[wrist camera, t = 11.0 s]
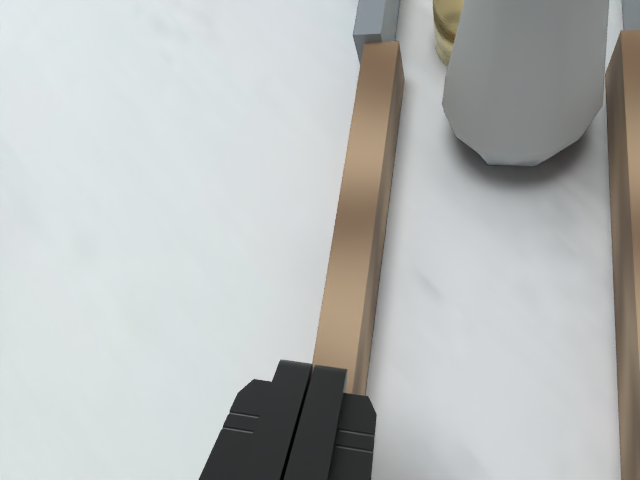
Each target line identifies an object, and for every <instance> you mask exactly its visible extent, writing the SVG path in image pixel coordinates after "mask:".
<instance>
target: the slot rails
mask: <svg viewBox="0 0 640 480" xmlns="http://www.w3.org/2000/svg"><path fill="white" fill-rule="evenodd" d="M605 78H606V103H607V128H608V153H609V178H610V203H611V228H612V254H613V279H614V304H615V329H616V354H617V379H618V404H619V430H620V455H621V480H640V30H624V31H621V32H620V35H619V38H618V40H617V43H616V46H615V49H614V51H613V54H612V57H611V60H610V62H609V65H608V68H607V71H606V73H605ZM403 86H404V73H403V66H402V60H401V53H400V46H399V41H386V42H373V43H364V47H363V53H362V59H361V66H360V72H359V78H358V84H357V90H356V97H355V103H354V109H353V115H352V121H351V127H350V134H349V140H348V146H347V152H346V158H345V165H344V171H343V177H342V183H341V189H340V196H339V202H338V208H337V214H336V220H335V226H334V233H333V239H332V245H331V251H330V257H329V264H328V270H327V276H326V282H325V288H324V295H323V301H322V307H321V313H320V319H319V325H318V332H317V338H316V344H315V350H314V356H313V363H312V364H313V367H314V366H315V365H322V366H329V367H336V368H343V369H347V383H346V393H349V394H356V395H363V396H365V392H366V384H367V376H368V368H369V360H370V352H371V344H372V336H373V328H374V320H375V312H376V304H377V295H378V287H379V279H380V271H381V263H382V255H383V247H384V239H385V231H386V223H387V215H388V207H389V199H390V191H391V183H392V175H393V167H394V158H395V150H396V142H397V134H398V126H399V118H400V110H401V102H402V94H403Z"/></svg>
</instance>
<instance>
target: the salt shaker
mask: <svg viewBox="0 0 640 480" xmlns="http://www.w3.org/2000/svg"><path fill="white" fill-rule="evenodd" d="M608 10H609V0H464V4H463V8H462V12H461V16H460V20H459V24H458V28H457V32H456V37H455V41H454V45H453V49H452V53H451V57H450V61H449V65H448V69H447V73H446V77H445V85H444V93H443V101H442V106H443V110H444V113H445V115H446V117H447V119H448V121H449V123H450V125H451V127H452V129H453V131H454V134H455V136H456V137H457V138H459V139H460V140H461V141H463V142H464V143H465V144H467V145H468V146H469V147H471V148H472V149H473V150H475V151H476V152H477V153H479V155H480V156H481V157H482V158H483V159H484V160H485V162H486V163H487V164H488V165H512V166H536V165H538V164H539V163H541V162H543V161H545V160H546V159H548V158H550V157H552V156H553V155H555V154H556V153H558V152H560V151H561V150H563V149H564V148H566V147H568V146H569V145H571V144H572V143H574V142H575V141H577V140H579V139H580V137H581V136H582V135H583V133H584V132H585V131H586V129H587V128H588V126H589V125H590V123H591V122H592V120H593V119H594V117H595V116H596V114H597V113H598V111H599V110H600V108H601V107H602V104H603V88H604V73H605V57H606V41H607V26H608Z"/></svg>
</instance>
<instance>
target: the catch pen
mask: <svg viewBox="0 0 640 480" xmlns="http://www.w3.org/2000/svg"><path fill="white" fill-rule="evenodd" d="M399 4H400V0H359V2H358V8H357V14H356V19H355V25H354V31H353V38H354V42H355V46H356V50H357V54H358V58H359V62H360V66H361V59H362V53H363V47H364V43H373V42H386V41H395V33H396V26H397V19H398V11H399ZM622 10H623V27H624V30H640V0H622Z"/></svg>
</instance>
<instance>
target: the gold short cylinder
mask: <svg viewBox="0 0 640 480" xmlns="http://www.w3.org/2000/svg"><path fill="white" fill-rule="evenodd" d="M463 4H464V0H433V12H434V30H435V47H436V52H437V54H438V56H439V58H440V60H441V61H442V62H443V63H444V64H445V65H446V66H448V65H449V61H450V57H451V53H452V49H453V45H454V41H455V37H456V32H457V28H458V24H459V20H460V16H461V12H462V8H463Z"/></svg>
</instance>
